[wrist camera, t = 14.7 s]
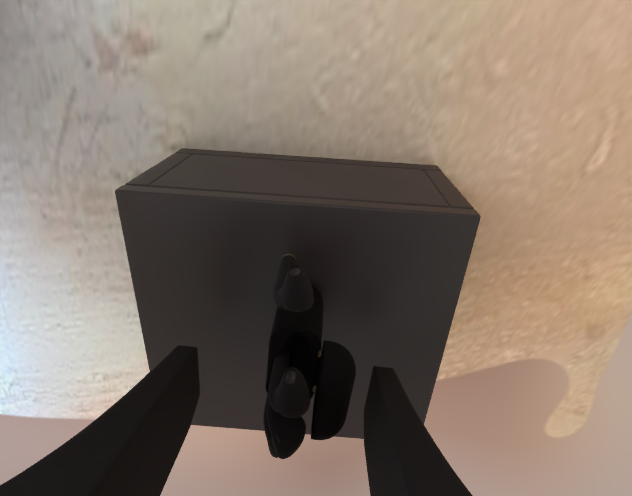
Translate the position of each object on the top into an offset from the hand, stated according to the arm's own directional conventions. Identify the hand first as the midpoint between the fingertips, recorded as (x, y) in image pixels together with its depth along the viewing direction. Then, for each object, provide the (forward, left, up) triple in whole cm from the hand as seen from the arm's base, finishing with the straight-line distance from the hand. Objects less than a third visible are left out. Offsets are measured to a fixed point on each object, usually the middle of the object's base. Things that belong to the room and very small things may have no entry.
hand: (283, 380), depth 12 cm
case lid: (0, 0, -3) cm, 3 cm away
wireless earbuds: (+1, +1, -3) cm, 3 cm away
